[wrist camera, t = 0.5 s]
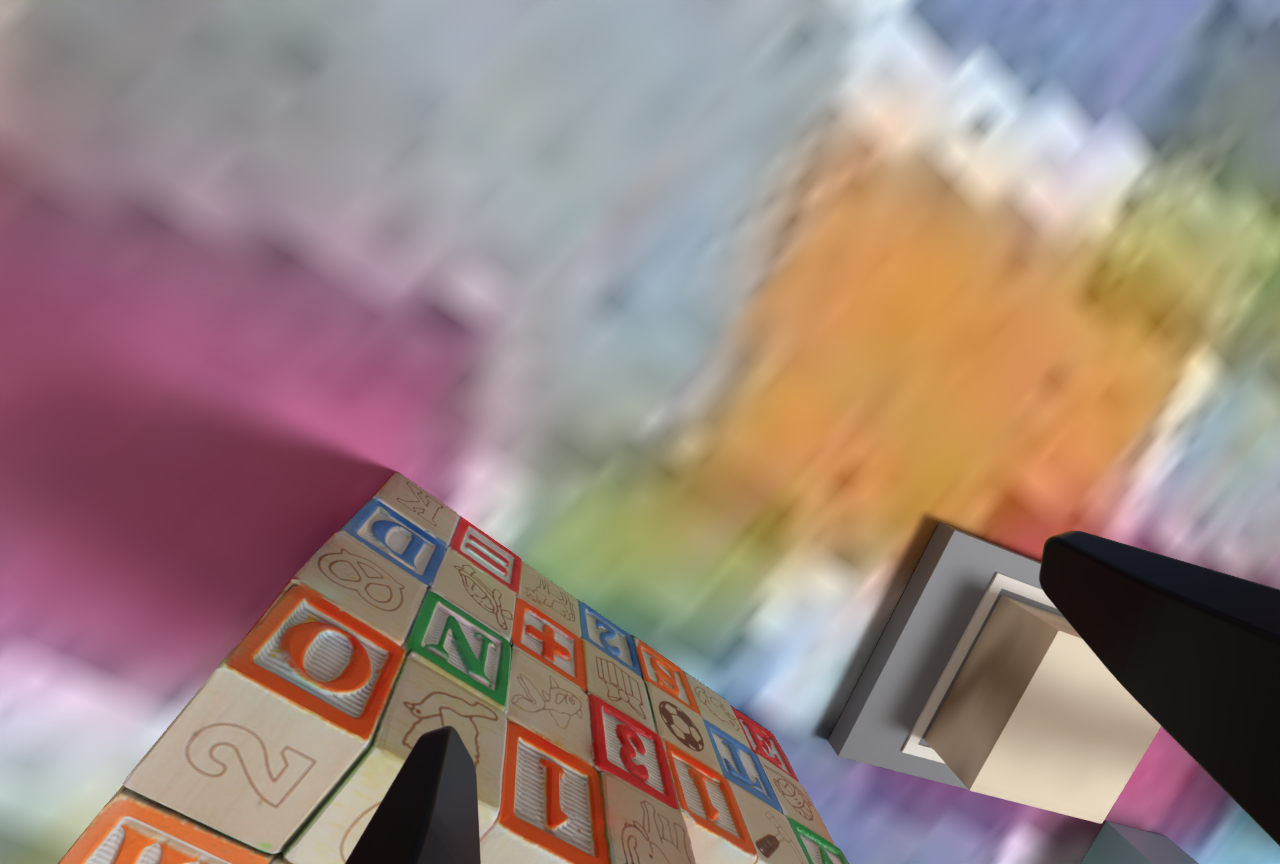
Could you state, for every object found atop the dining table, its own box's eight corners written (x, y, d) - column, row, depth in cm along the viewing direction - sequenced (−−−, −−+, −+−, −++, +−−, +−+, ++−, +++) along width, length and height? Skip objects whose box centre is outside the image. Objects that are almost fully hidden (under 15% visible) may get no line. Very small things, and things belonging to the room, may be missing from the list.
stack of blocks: (776, 729, 27) (959, 1057, 15) (692, 823, 27) (807, 1215, 16) (393, 466, 21) (210, 664, 10) (293, 589, 22) (-2, 926, 10)
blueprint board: (1066, 802, 31) (1085, 820, 30) (828, 740, 28) (839, 757, 26) (1177, 615, 30) (1200, 626, 29) (939, 522, 26) (956, 531, 25)
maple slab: (1046, 772, 29) (1101, 823, 26) (924, 739, 27) (969, 790, 24) (1123, 639, 28) (1190, 677, 25) (1002, 594, 26) (1058, 630, 23)
